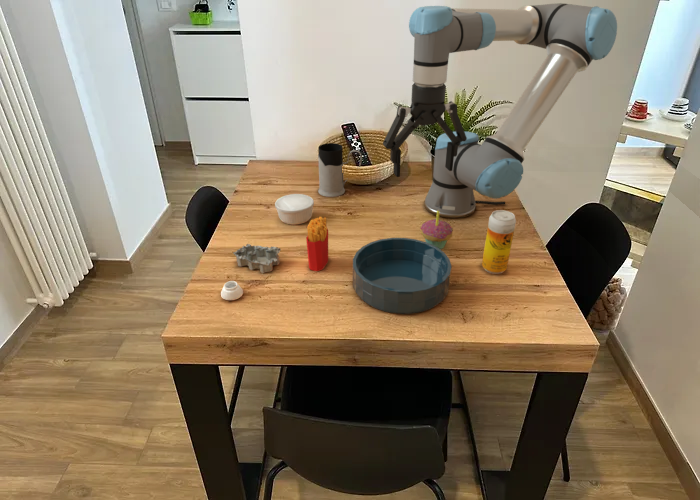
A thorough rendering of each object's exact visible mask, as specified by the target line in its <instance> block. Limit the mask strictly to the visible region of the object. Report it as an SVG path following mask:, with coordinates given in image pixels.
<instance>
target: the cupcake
mask: <svg viewBox="0 0 700 500" xmlns="http://www.w3.org/2000/svg"><path fill="white" fill-rule="evenodd" d="M439 212H440V211H439V209H438V211H437V215H435V216H436V217H435V218H434V219H429V220H426V221H425V222H423V223H422V225H421V226H420V230H419V233H420V234H421V236H422V237H423V238H424V240H425V242H427V243H429V244H431V245H434V246H436V247H437V248H439V249H440V250H443V249H444V248H445V246H446V244H447V242H448V241H449V240H450V239H451V238H453V234H454V233H453V231H454V228H453V227H452V226H451V224H450V223H448V222H447V221H445V220H442V219H440V216H439Z"/></svg>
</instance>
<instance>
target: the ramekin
mask: <svg viewBox="0 0 700 500" xmlns="http://www.w3.org/2000/svg"><path fill="white" fill-rule="evenodd" d="M314 205H315V201H314V199H313V198H312V197H311V196H310V195H307V194H304V193H290V194H286V195H283V196H281V197H279V198H277V199H276V201H275V202H274V207H275V209H276V211H277V215H278V218H279V220H280V221H281V222H282V223H284V224H287V225H291V226H292V225H301V224H304V223H307V222H308V221H310V220H311V218H312V217H313V211H314Z"/></svg>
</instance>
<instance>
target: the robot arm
mask: <svg viewBox="0 0 700 500" xmlns="http://www.w3.org/2000/svg"><path fill="white" fill-rule="evenodd" d="M408 29H409V33H410V35H411V36H412V37H413V39H414V41H413V42H414V43H413V66H412V83H413V84H412V85H411V101H410V102H411V103H410V106H408V107H407V106H403V105H398V106H397V109H396V116H395V117H394V120H393V122H392V124H391V125H390V127H389V130H388V132H387V134H386V136H385V138H384V139H383V142H382V145H383V146H384V147H385V148H386V149H387V150H390V151H389V152H390V157H389V158H390V160H389V161H390V162H391V163H392V164H393V171H392V172H393V174H394V176H395V177H396V178H399V177H401V163H402V162H401V159H402V150H401V149H400V147H401V146H402V145H403V144H404V143H405V142H406V140H407V139H408V138H409V137H410V135H411V134H412V133H413V131H415V129H418V127H419V126H420V127H424V126H425V127H426V126H428V125H429V126H434V125H435V124H437V125H438V126H439V127H440V129H441V131H443V132H444V133H442V134H440V135H439V136H438V137H437V139H436V144H435V147H434V161H433V171H432V172H433V174H432V176H433V177H432V183H431V185H430V187H429V189H428V192H427V193H426V196H425V199H424V208H425V209H426V211H427V212H429V213H430V214H432V215H435V216H437V211H438V209H439V211H440V212H439V218H440V217H441V218H445V219H462V218H466V217H468V216H471V215H472V214H474V212H475V210H476V204H477V205H490V206H500V205H501V206H505V205H506V201H487V200H476V197H475V193H474V192H477V193H478V194H479V195H481V196H485V197H487V198H490V199H494V200H496V199H501V198H504V197H507V196H509V195H510V194H511V193H512V192H514V191H515V190H516V188H517V187H518V186H519V185H520V183H521V181H522V179H523V175H524V166H523V164H522V163H524V160H525V155H524V150H526V148H527V146H528V145H529V143H530V142H531V141H532V139H533V137H534V136H535V134H536V133H537V131H538V130H539V128H540V127H541V125H543V122H544V121H546V118H547V117H548V115H549V114H550V113H551V111H552V109H553V108H554V107H555V106H556V104H557V102H558V100H560V97H561V96H562V95H563V93H564V92H565V90H566V89H567V87H568V86H569V85H570V83H571V81H572V80H573V78H574V77H575V75H576V74H577V73H580V72H583V71H586V70H587V68H589V66H590V64H591V63H592V62H593V60H594V61H600V60H602V59H604V58H606V57H607V56H608V55H609V54H610V53H611V51H612V49H613V47H614V45H615V42H616V39H617V34H618V20H617V17H616V15H615V13H614V12H613V11H612V10H611V9H608V8H604V7H600V6H598V5H596V6H587V5H579V4H570V3H562V2H560V3H547V4H534V5H522V6H520V7H519V8H517V9H512V8H511V9H510V8H509V9H506V8H460V7H459V8H457V7H456V8H455V7H454V8H453V7H452V8H451V7H450V6H446V5H426V6H425V5H424V6H419V7H418V8H417V7H416V9H415V10H414V11H412V13H411V15H410V17H409V22H408ZM506 41H507V42H509V41H510V42H514V43H516V44H518V45H529V46H533V47H538V48H541V49H544V50H546V55H547V56H546V58H545V59H544V61H543V62H542V64H540V67H539V68H538V70H537V71H536V73H535V74H534V76H533V77H532V79H531V80H530V82H529V83H528V84H527V86H526V87H525V89H524V90H523V92H522V93H521V95H520V97H519V98H518V99H517V101H516V103H515V104H514V105H513V107H512V108H511V110H510V112H509V113H508V114H507V116H506V118H505V119H504V121H503V122H502V124H501V125H500V127H499V128H498V130H496V132H495V134H492V135H488V136H486V137H485V139H484V140H483V142H482V143H481V144H480V143H479V141H480V139H479V135H478V134H477V133H476V132H472V131H465V129H464V127H463V125H462V122H461V119H460V117H459V114H458V104H457V103H456V102H454V101H452V100H450V101H449V102H448V103H445V100H446V91H447V85H446V83H447V79H448V67H449V58H450V54H454V53H460V52H468V51H469V52H470V51H478V50H481V49H485V48H487V47H489V46H491V44H492V43H493V42H506ZM445 111H446V112H447V113H448V116H449V118H450V120H451V123H452V125H453V129H454V131H452V129H451V127H449V125H448V124H447V123H446V120H444V119H443V117H442V116H443V114H444V113H445ZM409 114H410V117H409V119H408V120H407V123H406V124H405V125H404V126H403V124H404V122H405V119H406V118H407V117H408V115H409ZM402 126H403V128H402ZM401 128H402V129H401Z"/></svg>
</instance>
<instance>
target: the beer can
mask: <svg viewBox="0 0 700 500" xmlns="http://www.w3.org/2000/svg"><path fill="white" fill-rule="evenodd" d="M516 224H517V219H516V215H515V214H514V213H513V212H512V211H509V210H503V209H497V210H494V211H492V212H491V214H490V216H489V217H488V224H487V230H486V237H485V242H484V248H483V255H482V261H481V267H482V268H483V270H484V271H485V272H487V273H489V274H493V275H501V274H502V273H504V272H505V271H506V270H507V269H508V264H509V260H510V255H511V249H512V245H513V238H514V234H515V229H516Z"/></svg>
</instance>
